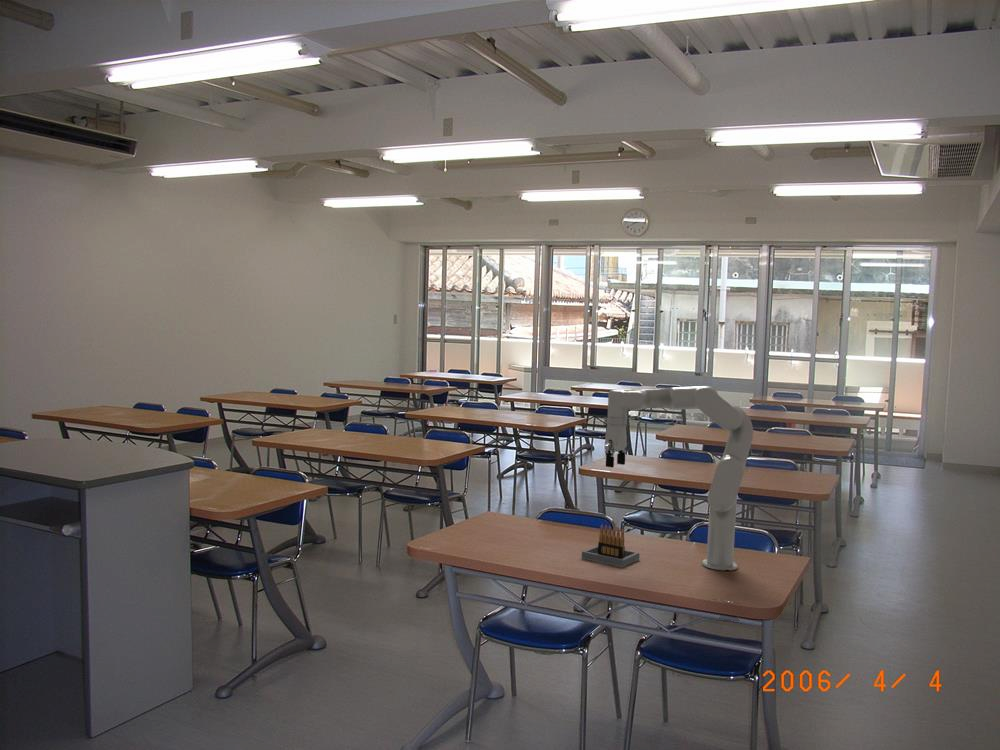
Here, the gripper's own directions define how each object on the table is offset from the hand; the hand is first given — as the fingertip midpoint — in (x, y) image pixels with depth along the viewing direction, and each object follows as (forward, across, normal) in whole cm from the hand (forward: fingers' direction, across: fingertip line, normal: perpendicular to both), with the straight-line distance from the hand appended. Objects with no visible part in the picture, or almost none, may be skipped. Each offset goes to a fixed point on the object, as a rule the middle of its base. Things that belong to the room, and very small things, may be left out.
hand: (615, 465), depth 305 cm
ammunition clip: (+34, +9, +4) cm, 35 cm away
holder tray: (+34, +10, +4) cm, 35 cm away
